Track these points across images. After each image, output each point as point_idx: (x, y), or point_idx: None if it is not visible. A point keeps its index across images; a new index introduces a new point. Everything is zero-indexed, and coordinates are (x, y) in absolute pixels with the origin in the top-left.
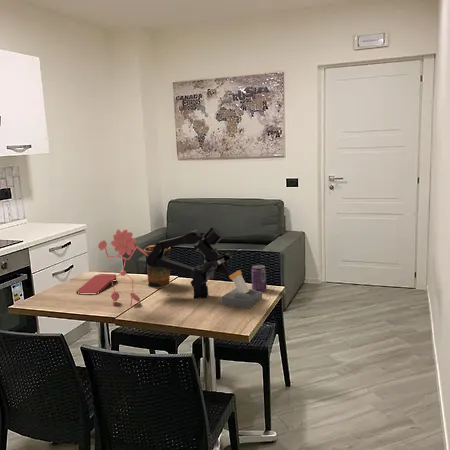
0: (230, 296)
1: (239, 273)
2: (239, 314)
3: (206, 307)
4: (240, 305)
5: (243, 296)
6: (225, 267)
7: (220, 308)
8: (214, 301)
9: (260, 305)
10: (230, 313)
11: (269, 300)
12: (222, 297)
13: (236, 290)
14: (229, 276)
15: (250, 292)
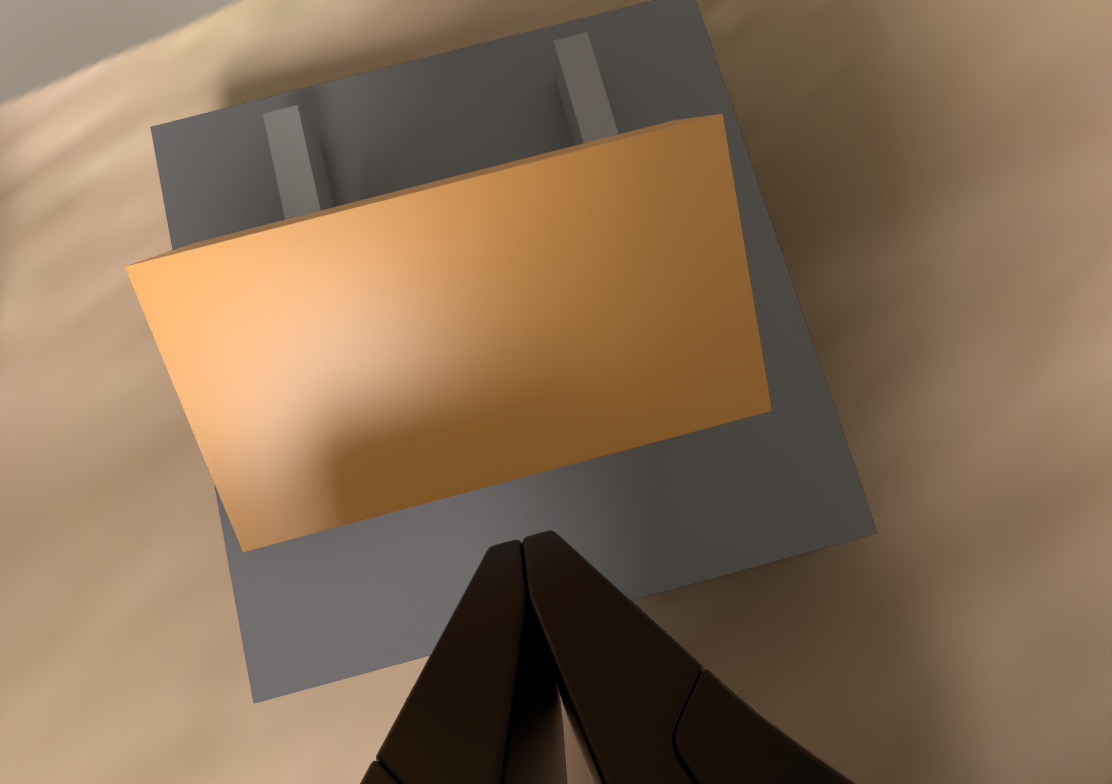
0: None
1: (344, 207)
2: (944, 21)
3: (1105, 643)
4: None
5: None
6: (753, 762)
7: (968, 411)
8: None
9: (472, 30)
10: (1007, 141)
11: (216, 64)
12: (865, 499)
13: (360, 573)
14: (757, 382)
15: None
